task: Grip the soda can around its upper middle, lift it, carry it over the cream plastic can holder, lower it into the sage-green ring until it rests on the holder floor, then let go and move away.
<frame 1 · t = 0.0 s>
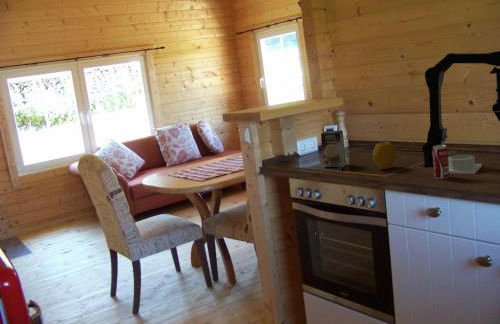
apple: (385, 169, 219), on the countertop
soda can: (442, 178, 192), on the countertop
coffee box: (335, 166, 238), on the countertop
can holder: (461, 169, 199), on the countertop
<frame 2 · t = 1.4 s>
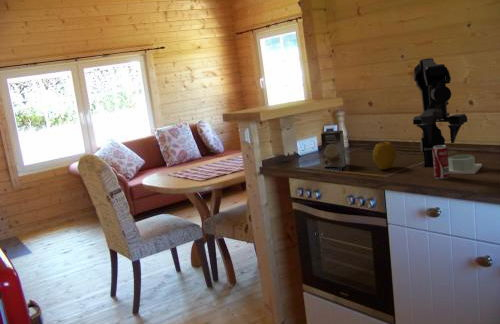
hand: (441, 142, 190), 13 cm above the countertop, fingers open, 9 cm apart
nothing on the countertop moved.
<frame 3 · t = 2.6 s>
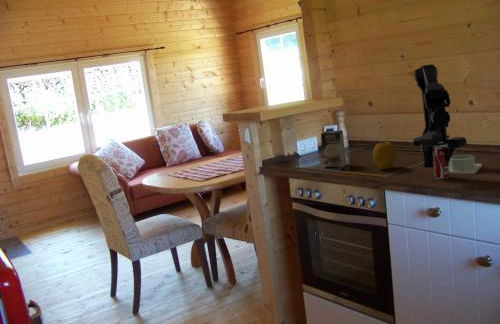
hand: (440, 164, 191), 5 cm above the countertop, fingers closed on soda can, 5 cm apart
soda can: (442, 178, 192), on the countertop, touching gripper
everything else where it was.
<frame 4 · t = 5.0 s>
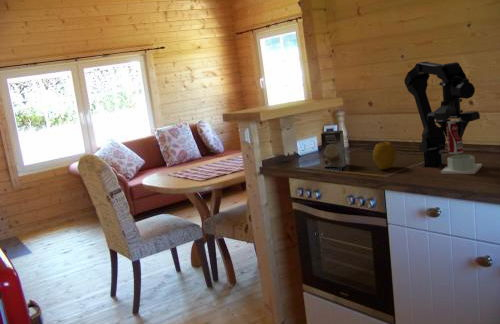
hand: (454, 138, 195), 13 cm above the countertop, fingers closed on soda can, 5 cm apart
soda can: (455, 153, 196), point 7 cm above the countertop, touching gripper
everything else where it was.
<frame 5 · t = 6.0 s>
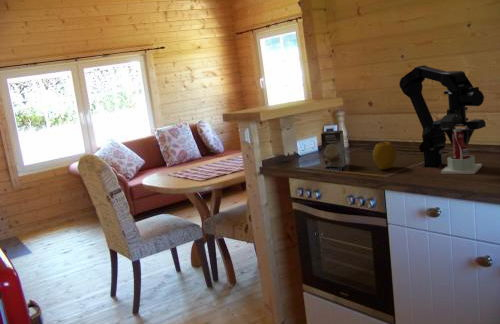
hand: (459, 146, 198), 9 cm above the countertop, fingers closed on soda can, 5 cm apart
soda can: (461, 160, 198), point 4 cm above the countertop, touching gripper
everything else where it was.
when the fingers open (7 cm above the countertop, at t = 7.1 s): soda can drops 1 cm, resting on can holder.
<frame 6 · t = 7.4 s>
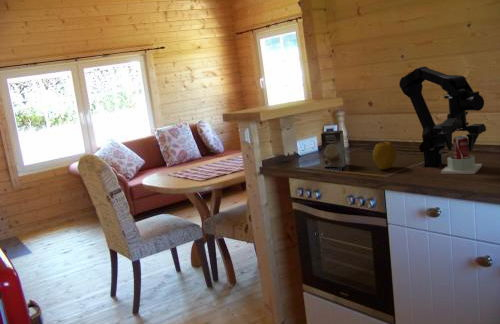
hand: (460, 150, 198), 7 cm above the countertop, fingers open, 8 cm apart
soda can: (462, 168, 199), point 1 cm above the countertop, touching can holder
everything else where it was.
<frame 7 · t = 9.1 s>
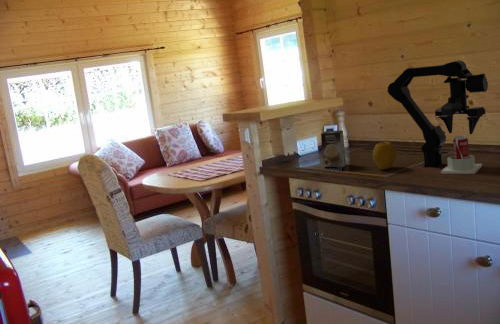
hand: (460, 133, 203), 13 cm above the countertop, fingers open, 9 cm apart
nothing on the countertop moved.
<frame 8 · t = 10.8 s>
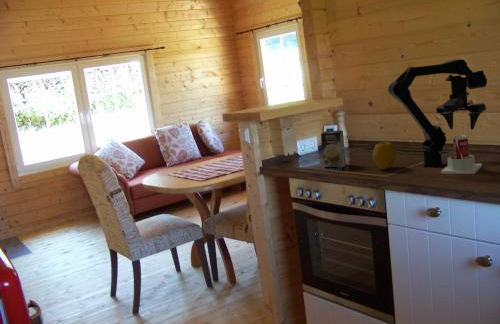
hand: (461, 129, 211), 13 cm above the countertop, fingers open, 9 cm apart
nothing on the countertop moved.
at the end: soda can 0.4 cm off-centre on the can holder, point 0.8 cm above the can holder's base; soda can tilted 0°; the gripper is holding nothing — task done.
